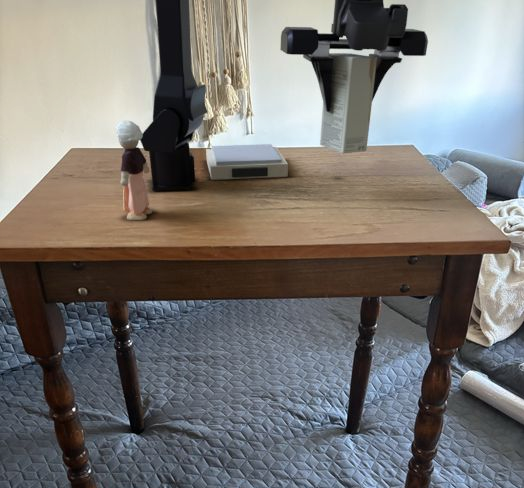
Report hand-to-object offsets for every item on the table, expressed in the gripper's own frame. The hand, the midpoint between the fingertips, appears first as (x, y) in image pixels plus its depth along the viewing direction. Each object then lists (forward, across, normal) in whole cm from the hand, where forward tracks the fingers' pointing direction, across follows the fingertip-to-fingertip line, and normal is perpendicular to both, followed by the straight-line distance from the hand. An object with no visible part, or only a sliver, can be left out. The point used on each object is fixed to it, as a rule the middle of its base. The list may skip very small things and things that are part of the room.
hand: (346, 111), depth 79 cm
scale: (+13, -12, +18) cm, 25 cm away
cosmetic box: (+5, 0, 0) cm, 5 cm away
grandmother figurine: (+13, -30, -4) cm, 33 cm away
